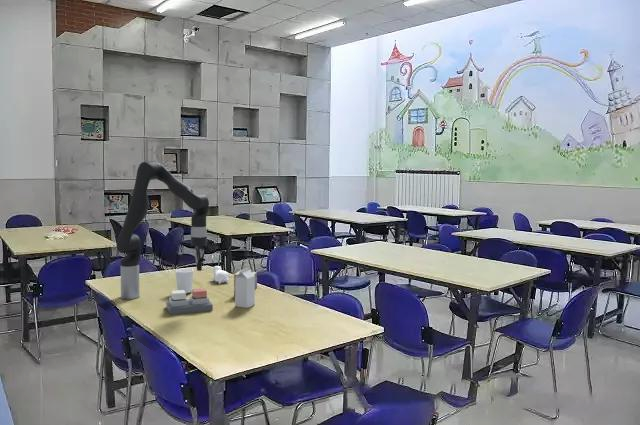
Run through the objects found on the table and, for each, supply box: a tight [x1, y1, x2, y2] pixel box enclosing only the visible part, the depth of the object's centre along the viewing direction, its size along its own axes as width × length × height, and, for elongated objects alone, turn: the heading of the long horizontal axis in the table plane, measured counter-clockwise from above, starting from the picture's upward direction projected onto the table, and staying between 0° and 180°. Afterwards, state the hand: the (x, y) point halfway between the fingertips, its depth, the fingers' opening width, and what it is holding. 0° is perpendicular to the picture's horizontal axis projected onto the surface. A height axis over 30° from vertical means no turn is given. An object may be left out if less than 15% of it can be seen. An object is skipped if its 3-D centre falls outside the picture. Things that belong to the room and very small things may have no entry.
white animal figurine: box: [211, 265, 230, 285], centre depth 315 cm, size 9×8×15 cm
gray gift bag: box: [233, 269, 258, 297], centre depth 291 cm, size 21×6×12 cm, turn 169°
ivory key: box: [170, 289, 187, 300], centre depth 254 cm, size 6×6×3 cm
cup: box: [174, 267, 195, 295], centre depth 286 cm, size 10×10×13 cm
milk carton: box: [234, 267, 256, 309], centre depth 262 cm, size 7×7×19 cm
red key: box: [191, 287, 208, 298], centre depth 258 cm, size 6×6×3 cm
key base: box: [165, 295, 214, 316], centre depth 256 cm, size 20×14×6 cm
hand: (199, 270), depth 256 cm, fingers closed
